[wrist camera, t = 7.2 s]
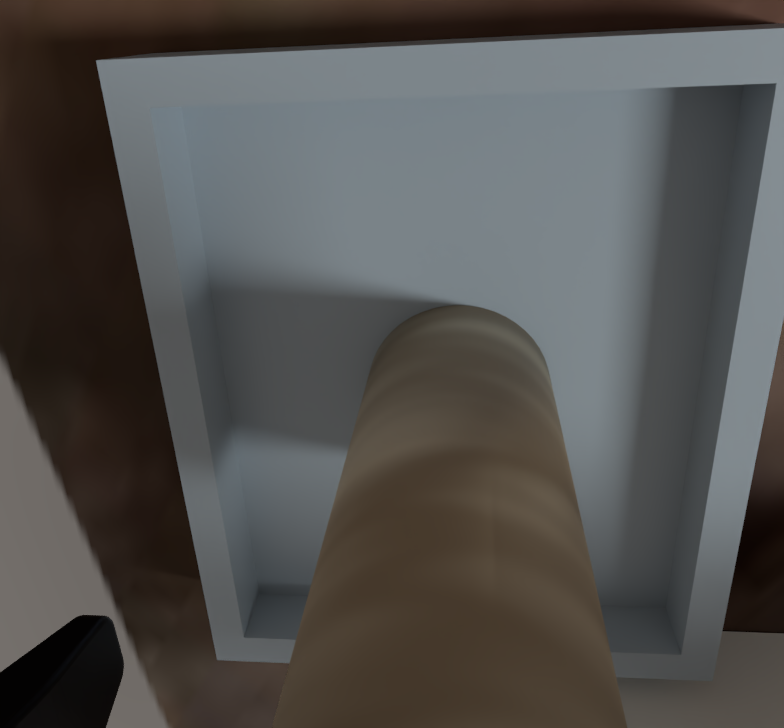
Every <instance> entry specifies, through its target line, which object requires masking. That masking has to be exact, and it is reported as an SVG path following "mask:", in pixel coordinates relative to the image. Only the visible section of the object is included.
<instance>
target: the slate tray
mask: <svg viewBox="0 0 784 728" xmlns="http://www.w3.org/2000/svg"><path fill="white" fill-rule="evenodd" d="M96 63H97V68H98V73H99V78H100V83H101V88H102V93H103V98H104V103H105V108H106V113H107V118H108V123H109V128H110V133H111V137H112V142H113V147H114V152H115V157H116V162H117V167H118V172H119V177H120V182H121V187H122V192H123V197H124V202H125V207H126V212H127V217H128V222H129V226H130V231H131V236H132V241H133V246H134V251H135V256H136V261H137V266H138V271H139V276H140V281H141V286H142V291H143V296H144V301H145V306H146V311H147V315H148V320H149V325H150V330H151V335H152V340H153V345H154V350H155V355H156V360H157V365H158V370H159V375H160V380H161V385H162V390H163V395H164V399H165V404H166V409H167V414H168V419H169V424H170V429H171V434H172V439H173V444H174V449H175V454H176V459H177V464H178V469H179V474H180V479H181V484H182V488H183V493H184V498H185V503H186V508H187V513H188V518H189V523H190V528H191V533H192V538H193V543H194V548H195V553H196V558H197V563H198V568H199V573H200V577H201V582H202V587H203V592H204V597H205V602H206V607H207V612H208V617H209V622H210V627H211V632H212V637H213V642H214V647H215V652H216V657H217V660H228V661H251V662H274V663H290V660H291V656H292V652H293V649H294V645H295V641H296V638H297V634H298V631H299V627H300V623H301V620H302V616H303V612H304V609H305V605H306V601H307V598H308V594H309V591H310V587H311V583H312V580H313V576H314V572H315V569H316V565H317V561H318V558H319V554H320V551H321V547H322V543H323V540H324V536H325V532H326V529H327V525H328V521H329V518H330V514H331V511H332V507H333V503H334V500H335V496H336V492H337V489H338V485H339V481H340V478H341V474H342V471H343V467H344V463H345V460H346V456H347V452H348V449H349V445H350V441H351V438H352V434H353V431H354V427H355V423H356V420H357V416H358V412H359V409H360V405H361V401H362V398H363V394H364V391H365V387H366V383H367V380H368V376H369V372H370V369H371V366H372V362H373V359H374V357H375V355H376V353H377V350H378V348H379V347H380V346H381V344H382V343H383V341H384V340H385V338H386V337H387V336H388V335H389V334H390V333H391V332H392V331H393V330H394V329H395V328H396V327H397V326H399V325H400V324H401V323H403V322H404V321H406V320H407V319H409V318H410V317H412V316H414V315H417V314H419V313H421V312H424V311H427V310H430V309H433V308H438V307H443V306H452V305H465V306H474V307H480V308H484V309H488V310H491V311H494V312H497V313H499V314H501V315H503V316H505V317H507V318H509V319H510V320H512V321H514V322H515V323H517V324H518V325H519V326H520V327H522V328H523V329H524V330H525V331H526V332H527V333H528V334H529V335H530V336H531V337H532V338H533V339H534V341H535V342H536V344H537V345H538V347H539V348H540V350H541V352H542V354H543V356H544V358H545V361H546V364H547V367H548V370H549V374H550V379H551V384H552V388H553V393H554V397H555V402H556V406H557V411H558V415H559V420H560V424H561V429H562V434H563V438H564V443H565V447H566V452H567V456H568V461H569V465H570V470H571V474H572V479H573V483H574V488H575V493H576V497H577V502H578V506H579V511H580V515H581V520H582V524H583V529H584V533H585V538H586V543H587V547H588V552H589V556H590V561H591V565H592V570H593V574H594V579H595V583H596V588H597V592H598V597H599V602H600V606H601V611H602V615H603V620H604V624H605V629H606V633H607V638H608V642H609V647H610V651H611V656H612V661H613V665H614V670H615V674H616V677H623V678H646V679H669V680H693V681H713V676H714V671H715V666H716V661H717V656H718V651H719V646H720V640H721V635H722V630H723V625H724V620H725V615H726V610H727V605H728V599H729V594H730V589H731V584H732V579H733V574H734V569H735V564H736V559H737V553H738V548H739V543H740V538H741V533H742V528H743V523H744V518H745V513H746V507H747V502H748V497H749V492H750V487H751V482H752V477H753V472H754V467H755V461H756V456H757V451H758V446H759V441H760V436H761V431H762V426H763V421H764V415H765V410H766V405H767V400H768V395H769V390H770V385H771V380H772V374H773V369H774V364H775V359H776V354H777V349H778V344H779V339H780V334H781V328H782V323H783V318H784V24H780V23H778V24H757V25H736V26H715V27H694V28H673V29H652V30H631V31H610V32H589V33H568V34H547V35H526V36H505V37H483V38H462V39H441V40H420V41H399V42H378V43H357V44H336V45H315V46H294V47H273V48H252V49H231V50H210V51H189V52H168V53H150V54H142V55H134V56H126V57H118V58H110V59H102V60H96Z"/></svg>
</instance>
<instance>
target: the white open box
mask: <svg viewBox="0 0 784 728" xmlns="http://www.w3.org/2000/svg"><path fill="white" fill-rule="evenodd" d="M616 679H617V683H618V688H619V692H620V697H621V701H622V706H623V711H624V715H625V720H626V724H627V728H784V633H758V632H730V631H722V635H721V640H720V646H719V651H718V656H717V661H716V666H715V671H714V676H713V681H693V680H669V679H646V678H623V677H616Z"/></svg>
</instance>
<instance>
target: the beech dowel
mask: <svg viewBox="0 0 784 728" xmlns="http://www.w3.org/2000/svg"><path fill="white" fill-rule="evenodd" d="M272 728H627V724H626V720H625V715H624V711H623V706H622V701H621V697H620V692H619V688H618V683H617V679H616V674H615V670H614V665H613V661H612V656H611V651H610V647H609V642H608V638H607V633H606V629H605V624H604V620H603V615H602V611H601V606H600V602H599V597H598V592H597V588H596V583H595V579H594V574H593V570H592V565H591V561H590V556H589V552H588V547H587V543H586V538H585V533H584V529H583V524H582V520H581V515H580V511H579V506H578V502H577V497H576V493H575V488H574V483H573V479H572V474H571V470H570V465H569V461H568V456H567V452H566V447H565V443H564V438H563V434H562V429H561V424H560V420H559V415H558V411H557V406H556V402H555V397H554V393H553V388H552V384H551V379H550V374H549V370H548V367H547V364H546V361H545V358H544V356H543V354H542V352H541V350H540V348H539V347H538V345H537V344H536V342H535V341H534V339H533V338H532V337H531V336H530V335H529V334H528V333H527V332H526V331H525V330H524V329H523V328H522V327H520V326H519V325H518V324H517V323H515V322H514V321H512V320H510V319H509V318H507V317H505V316H503V315H501V314H499V313H497V312H494V311H491V310H488V309H484V308H480V307H474V306H465V305H452V306H443V307H438V308H433V309H430V310H427V311H424V312H421V313H419V314H417V315H414V316H412V317H410V318H409V319H407V320H406V321H404V322H403V323H401V324H400V325H399V326H397V327H396V328H395V329H394V330H393V331H392V332H391V333H390V334H389V335H388V336H387V337H386V338H385V340H384V341H383V343H382V344H381V346H380V347H379V348H378V350H377V353H376V355H375V357H374V359H373V362H372V366H371V369H370V372H369V376H368V380H367V383H366V387H365V391H364V394H363V398H362V401H361V405H360V409H359V412H358V416H357V420H356V423H355V427H354V431H353V434H352V438H351V441H350V445H349V449H348V452H347V456H346V460H345V463H344V467H343V471H342V474H341V478H340V481H339V485H338V489H337V492H336V496H335V500H334V503H333V507H332V511H331V514H330V518H329V521H328V525H327V529H326V532H325V536H324V540H323V543H322V547H321V551H320V554H319V558H318V561H317V565H316V569H315V572H314V576H313V580H312V583H311V587H310V591H309V594H308V598H307V601H306V605H305V609H304V612H303V616H302V620H301V623H300V627H299V631H298V634H297V638H296V641H295V645H294V649H293V652H292V656H291V660H290V663H289V667H288V671H287V674H286V678H285V681H284V685H283V689H282V692H281V696H280V700H279V703H278V707H277V711H276V714H275V718H274V721H273V725H272Z"/></svg>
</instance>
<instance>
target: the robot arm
mask: <svg viewBox="0 0 784 728" xmlns="http://www.w3.org/2000/svg"><path fill="white" fill-rule="evenodd" d="M123 668H124V662H123V656H122V653H121V649H120V645H119V642H118V638H117V635H116V631H115V627H114V624H113V621H112V620H111V619H110V618H109V617H107V616H96V615H82V616H78V617H76V618H75V619H73V620H72V621H70V622H69V623H67V624H66V625H65V626H63V627H62V628H61V629H59V630H58V631H56V632H55V633H54V634H52V635H51V636H50V637H48V638H47V639H46V640H44V641H43V642H41V643H40V644H39V645H37V646H36V647H35V648H33V649H32V650H31V651H29V652H28V653H26V654H25V655H24V656H22V657H21V658H19V659H18V660H17V661H15V662H14V663H13V664H11V665H10V666H9V667H7V668H6V669H4V670H3V671H2V672H0V728H106V725H107V722H108V719H109V716H110V713H111V710H112V707H113V704H114V701H115V698H116V695H117V691H118V688H119V686H120V682H121V679H122V675H123Z"/></svg>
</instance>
